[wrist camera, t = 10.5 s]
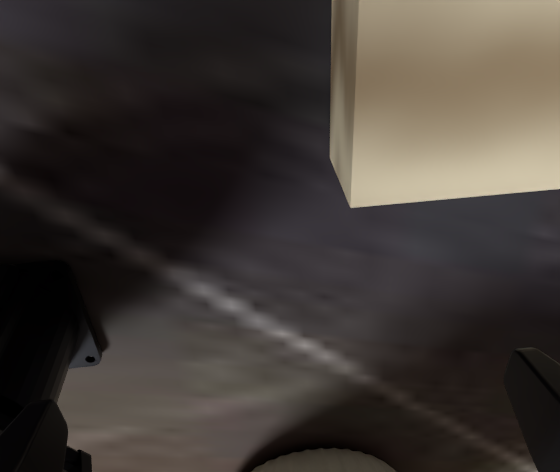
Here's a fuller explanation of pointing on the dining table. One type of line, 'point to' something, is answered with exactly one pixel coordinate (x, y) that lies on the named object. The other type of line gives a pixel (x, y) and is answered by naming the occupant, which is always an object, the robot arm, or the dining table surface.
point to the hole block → (444, 98)
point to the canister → (325, 462)
